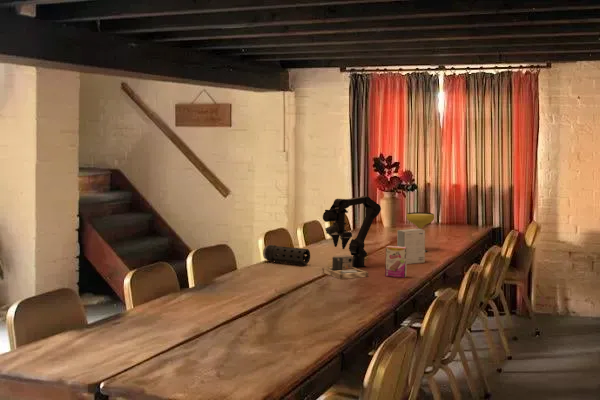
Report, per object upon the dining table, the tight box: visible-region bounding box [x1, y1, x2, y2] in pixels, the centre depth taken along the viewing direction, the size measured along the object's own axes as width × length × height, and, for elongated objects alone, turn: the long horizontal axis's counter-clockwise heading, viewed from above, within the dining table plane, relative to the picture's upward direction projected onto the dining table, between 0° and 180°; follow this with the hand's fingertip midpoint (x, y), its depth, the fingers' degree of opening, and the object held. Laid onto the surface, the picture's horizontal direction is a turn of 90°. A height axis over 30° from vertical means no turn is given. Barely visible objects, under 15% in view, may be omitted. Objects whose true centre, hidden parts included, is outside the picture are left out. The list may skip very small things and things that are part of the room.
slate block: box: [341, 270, 358, 274], centre depth 405 cm, size 8×5×3 cm, turn 99°
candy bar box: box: [384, 245, 408, 279], centre depth 405 cm, size 11×5×16 cm, turn 71°
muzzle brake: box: [262, 244, 311, 267], centre depth 442 cm, size 10×28×10 cm, turn 59°
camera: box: [331, 254, 353, 271], centre depth 413 cm, size 11×6×10 cm, turn 114°
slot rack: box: [322, 266, 369, 280], centre depth 409 cm, size 17×20×2 cm
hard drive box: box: [396, 228, 426, 265], centre depth 449 cm, size 16×8×20 cm, turn 115°
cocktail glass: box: [406, 211, 435, 253], centre depth 494 cm, size 18×18×25 cm
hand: (339, 247), depth 427 cm, fingers open, 9 cm apart
